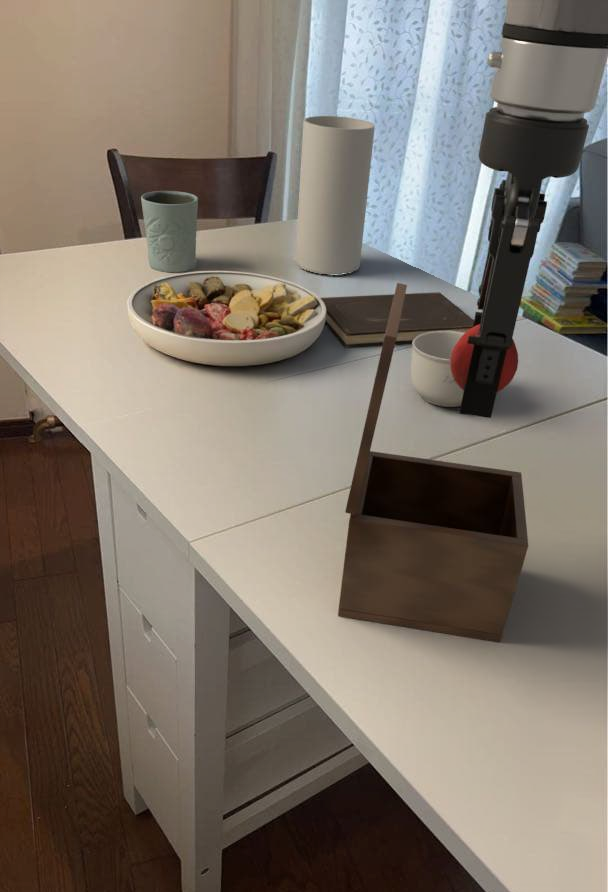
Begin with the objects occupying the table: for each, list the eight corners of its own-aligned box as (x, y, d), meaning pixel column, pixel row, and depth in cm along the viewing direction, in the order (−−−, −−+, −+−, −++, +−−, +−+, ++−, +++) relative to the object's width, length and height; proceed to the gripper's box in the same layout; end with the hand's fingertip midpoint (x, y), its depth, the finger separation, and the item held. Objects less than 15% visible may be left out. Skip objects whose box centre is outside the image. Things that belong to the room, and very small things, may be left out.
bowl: (183, 288, 139) (182, 242, 135) (347, 320, 132) (352, 272, 128) (91, 350, 116) (86, 297, 111) (284, 392, 109) (287, 337, 104)
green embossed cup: (164, 277, 143) (161, 207, 136) (133, 261, 149) (129, 193, 142) (210, 267, 149) (209, 199, 142) (178, 253, 155) (176, 187, 148)
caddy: (497, 563, 81) (521, 472, 75) (500, 642, 72) (528, 545, 65) (352, 541, 82) (364, 449, 76) (337, 616, 73) (349, 518, 67)
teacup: (442, 422, 105) (453, 365, 100) (388, 390, 112) (396, 335, 107) (513, 399, 112) (527, 345, 107) (459, 370, 119) (469, 318, 114)
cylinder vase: (326, 281, 147) (338, 131, 132) (281, 262, 154) (288, 118, 140) (372, 269, 154) (389, 126, 140) (328, 252, 162) (339, 114, 147)
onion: (441, 383, 75) (457, 299, 70) (502, 388, 75) (522, 305, 70) (446, 411, 70) (463, 323, 65) (512, 417, 70) (534, 330, 65)
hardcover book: (478, 339, 129) (481, 325, 128) (345, 347, 123) (346, 333, 122) (436, 303, 141) (438, 290, 140) (313, 310, 135) (314, 296, 134)
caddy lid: (407, 284, 66) (397, 282, 66) (396, 337, 57) (384, 335, 57) (369, 446, 76) (360, 444, 76) (354, 515, 66) (344, 512, 66)
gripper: (487, 89, 66) (439, 351, 80) (487, 124, 51) (428, 440, 65) (579, 99, 66) (514, 362, 79) (606, 138, 50) (521, 454, 64)
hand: (475, 397), depth 72 cm, fingers closed on onion, 6 cm apart
